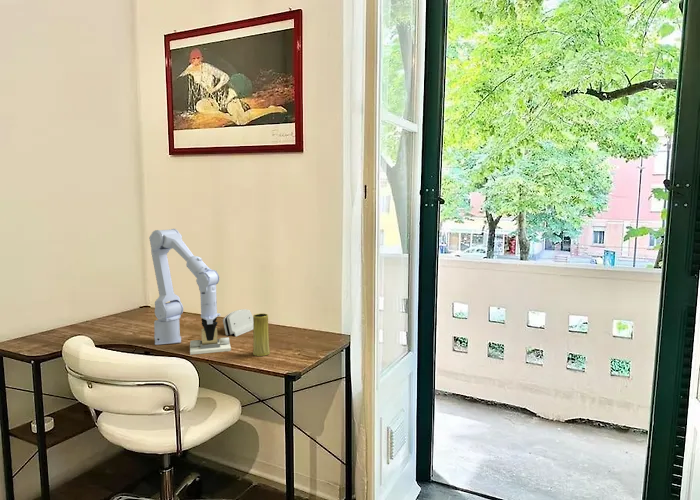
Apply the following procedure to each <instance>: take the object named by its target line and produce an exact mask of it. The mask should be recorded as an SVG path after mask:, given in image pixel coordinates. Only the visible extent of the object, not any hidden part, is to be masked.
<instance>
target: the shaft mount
mask: <svg viewBox="0 0 700 500" xmlns="http://www.w3.org/2000/svg"><path fill="white" fill-rule="evenodd" d="M217 341H218V344H209V345H202V339H196V340H190V342H189V354H190V356H191V355H201V354H212V353H222V352H223V353H224V352H231V351H232V347H231V343H230V337H229V336H228V337H220V338H217Z"/></svg>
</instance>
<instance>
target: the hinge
mask: <svg viewBox="0 0 700 500" xmlns="http://www.w3.org/2000/svg"><path fill="white" fill-rule="evenodd" d="M222 324H223V328H224V332H225V335H226V336H229V335H230V336H231V335H233V334H234V337H238V336H241V335H244V334H245V333H248V332H251V331H253V314H252V312H251V310H250V309H244V308H243V309H237V310H233V311H231V312H229V313H228V314H227V315H226V316H225V317H223V319H222Z"/></svg>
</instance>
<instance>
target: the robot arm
mask: <svg viewBox="0 0 700 500" xmlns="http://www.w3.org/2000/svg"><path fill="white" fill-rule="evenodd" d="M149 243H150V251H151V252H150V253H151V258H152V259H151V260H152V264H153V268H154V273H155V274H154V275H155V278H156V284H157V290H158V297H157V299H156V300H155V301H154V315H155V317H156V318H157V319H156V320H154V322H153V323H154V324H153V329H154V332H153V333H154V336H153V339H154V345H155V346H157V345H167V344H168V345H169V344H170V345H171V344H181V343H182V336H181V333H180V332H181V331H180V329H181V328H180V319H181V315H183V312H184V305H183V303H182V302H181V298H180V296H179V295H177V294H176V293H175V290H174V287H173V280H172V275H171V269H170V264H169V259H168V253H169V252H170V251H171V250H172V249H173V250H174V251H175V252H176V253H177V254H178V255H179V256H180V257H181V258H182V259H184V260H185V262H186V268H187V269H188V270H189V271H190V272H191V273H192V275H194V277H195V278H196V280H195V282H196V285H197V286H198V290H199V292H200V318H201V319H200V320H201V326H202V327H203V328H204V330H205V333H206V338H207V341H211V340H213V338H214V332H215V328H216V327H217V326H218V323H219V322H218V321H217V320H218V319H217V317H220V316H221V313H220V312H219V313H218V307H217V284H219V282H220V275H219V273H218V272H217V270H215V269H212V268H210V267H209V266H208V265H207V264H206V263H205V262H204V261H203V257H200V256H198V255H194V254H193V252H192V251H191V249H189V248H190V247H188V245H186V242H184V240H183V236H182V234H181V233H180V231H179V230H178V229H176V228H171V229H160V230H159V229H155V230H153V231H152V232H151V234H150V236H149Z"/></svg>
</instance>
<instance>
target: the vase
mask: <svg viewBox="0 0 700 500" xmlns="http://www.w3.org/2000/svg"><path fill="white" fill-rule="evenodd" d="M252 316H253V330H252V331H253V337H252V339H253V349H252V350H253V351H252V354H253V356H256V357H265V356H268V355H270V354H271V350H270V339H269V338H270V337H269V314H267V313H255V314H252Z"/></svg>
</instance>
